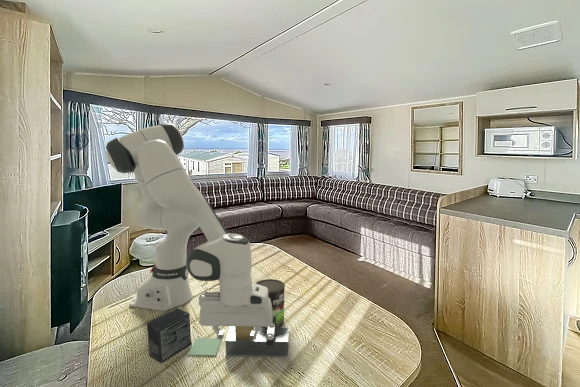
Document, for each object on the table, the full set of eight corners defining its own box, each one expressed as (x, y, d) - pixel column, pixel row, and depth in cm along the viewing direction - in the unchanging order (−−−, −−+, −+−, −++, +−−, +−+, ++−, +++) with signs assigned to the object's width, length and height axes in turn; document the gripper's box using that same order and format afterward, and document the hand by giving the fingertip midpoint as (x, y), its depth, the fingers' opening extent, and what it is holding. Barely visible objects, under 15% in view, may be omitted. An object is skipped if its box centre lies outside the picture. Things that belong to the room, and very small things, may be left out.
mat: (187, 355, 91) (187, 354, 91) (196, 338, 99) (196, 337, 99) (215, 356, 91) (215, 355, 91) (221, 339, 99) (221, 338, 99)
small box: (179, 337, 100) (177, 306, 98) (192, 344, 96) (191, 313, 94) (147, 355, 91) (145, 322, 89) (161, 364, 87) (159, 329, 86)
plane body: (225, 356, 91) (225, 341, 90) (230, 341, 98) (230, 326, 97) (288, 358, 90) (288, 342, 90) (288, 342, 98) (288, 327, 97)
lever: (265, 349, 86) (265, 338, 85) (268, 331, 94) (268, 321, 94) (273, 349, 86) (273, 338, 85) (275, 331, 94) (275, 321, 93)
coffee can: (290, 321, 109) (290, 283, 107) (273, 336, 100) (273, 295, 98) (266, 312, 114) (266, 276, 112) (248, 326, 106) (247, 287, 104)
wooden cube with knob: (235, 337, 91) (234, 323, 91) (238, 327, 96) (237, 313, 96) (252, 337, 91) (252, 323, 91) (254, 328, 96) (254, 314, 96)
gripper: (195, 297, 84) (196, 344, 86) (271, 298, 83) (271, 346, 85) (201, 286, 90) (203, 331, 92) (273, 287, 89) (273, 332, 92)
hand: (236, 338), depth 89 cm, fingers open, 8 cm apart
